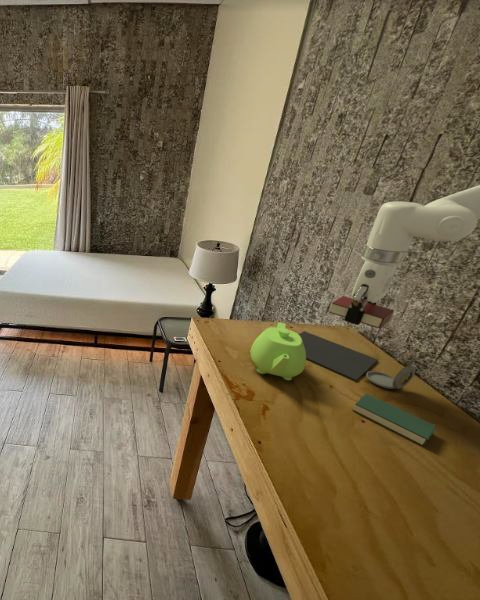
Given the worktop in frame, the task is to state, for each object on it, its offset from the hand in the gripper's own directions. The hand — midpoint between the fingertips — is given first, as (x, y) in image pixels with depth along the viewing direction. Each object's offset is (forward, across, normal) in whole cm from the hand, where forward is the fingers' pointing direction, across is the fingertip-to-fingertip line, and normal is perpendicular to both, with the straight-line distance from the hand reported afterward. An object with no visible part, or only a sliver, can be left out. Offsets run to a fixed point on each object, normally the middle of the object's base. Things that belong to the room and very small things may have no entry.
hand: (357, 317), depth 85 cm
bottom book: (+16, -14, -15) cm, 26 cm away
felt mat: (+16, +4, +4) cm, 17 cm away
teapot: (+16, -16, +10) cm, 25 cm away
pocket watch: (+16, +1, -10) cm, 19 cm away
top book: (-1, 0, 0) cm, 1 cm away
